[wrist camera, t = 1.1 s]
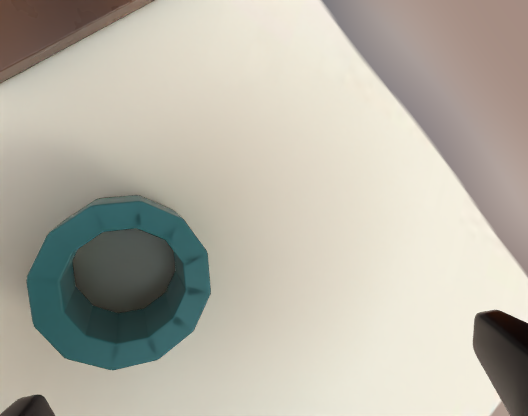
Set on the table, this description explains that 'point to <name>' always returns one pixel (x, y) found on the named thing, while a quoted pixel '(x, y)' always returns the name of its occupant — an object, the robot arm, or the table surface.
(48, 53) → the peg stand
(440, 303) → the table surface
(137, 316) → the tape roll
